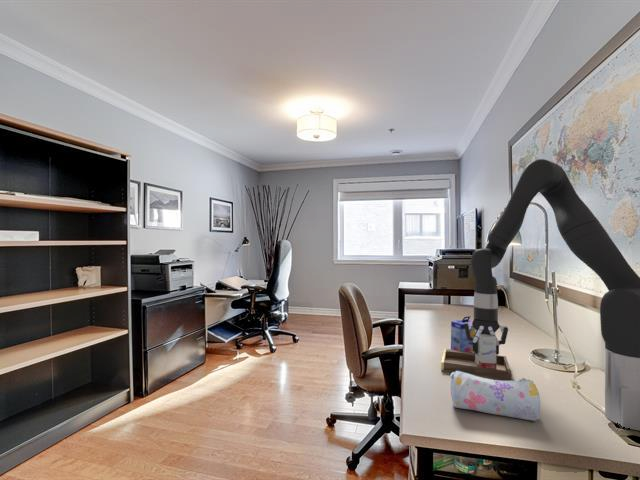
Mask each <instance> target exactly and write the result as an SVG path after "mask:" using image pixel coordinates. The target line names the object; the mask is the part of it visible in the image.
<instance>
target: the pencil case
mask: <svg viewBox="0 0 640 480" xmlns="http://www.w3.org/2000/svg"><path fill="white" fill-rule="evenodd" d="M449 378H451V380H450V397H451V401H452V406H453V408H456V409H462V410H469V411H470V410H471V411H476V412H480V413H485V414H491V415H496V416H497V415H498V416H504V417H510V418H514V419H515V418H516V419H520V420H525V421H526V420H527V421H533V422H535V421H536V422H537V420H539V417H540V410H541V397H540V393H539V390H538V388H537V385H536V384H535V382H534V381H533V380H531V379H526V378H523V377H522V378H521V379H518V380H517V379H516V380H511V381H501V380H494V379H488V378H482V377H478V376H474V375H471V374H468V373H465V372H461V371H455V372H453V373H450V375H449Z"/></svg>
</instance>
